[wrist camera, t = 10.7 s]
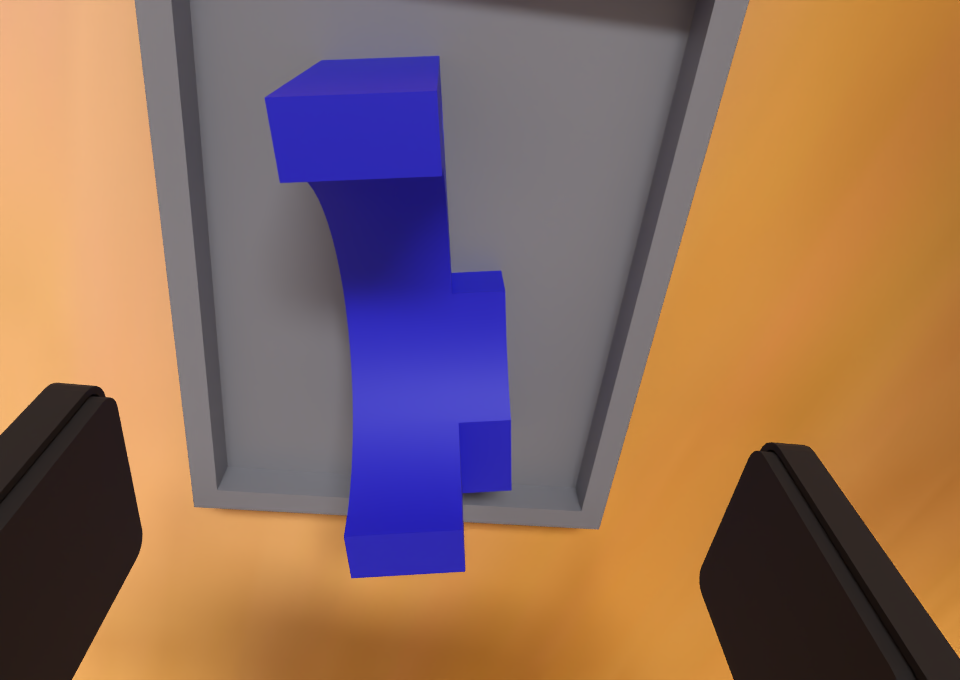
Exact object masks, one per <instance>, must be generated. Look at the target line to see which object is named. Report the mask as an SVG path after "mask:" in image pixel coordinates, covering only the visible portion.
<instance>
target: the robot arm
mask: <svg viewBox="0 0 960 680" xmlns="http://www.w3.org/2000/svg"><path fill="white" fill-rule="evenodd" d="M141 544H142V527H141V522H140V517H139V512H138V507H137V502H136V497H135V492H134V487H133V482H132V477H131V472H130V467H129V462H128V457H127V452H126V447H125V442H124V437H123V432H122V427H121V422H120V417H119V412H118V407H117V404H116V401H115V400H114V399H113V398H108V397H105V394H104V392H103V390H102V389H101V388H100V387H97V386H89V385H77V384H65V383H53V384H50V385H49V386H48V387H46V388H45V389H44V390H43V391H42V392H41V393H40V394H39V395H38V396H37V397H36V398H35V400H34V401H33V402H32V403H31V404H30V405H29V406H28V407H27V408H26V409H25V410H24V411H23V412H22V413H21V414H20V415H19V416H18V417H17V418H16V419H15V421H14V422H13V423H12V424H11V425H10V426H9V427H8V428H7V429H6V430H5V431H4V432H3V433H2V434H1V435H0V680H72V678H73V676H74V675H75V673H76V671H77V669H78V667H79V665H80V663H81V662H82V660H83V658H84V656H85V654H86V652H87V650H88V648H89V647H90V645H91V643H92V641H93V639H94V637H95V635H96V634H97V632H98V630H99V628H100V626H101V624H102V622H103V620H104V619H105V617H106V615H107V613H108V611H109V609H110V607H111V605H112V604H113V602H114V600H115V598H116V596H117V594H118V592H119V591H120V589H121V587H122V585H123V583H124V581H125V579H126V577H127V576H128V574H129V572H130V570H131V568H132V566H133V564H134V563H135V561H136V559H137V557H138V554H139V551H140V548H141ZM699 579H700V589H701V593H702V596H703V598H704V601H705V604H706V606H707V609H708V612H709V614H710V617H711V620H712V623H713V625H714V628H715V631H716V633H717V636H718V639H719V641H720V644H721V647H722V649H723V652H724V655H725V657H726V660H727V663H728V665H729V668H730V671H731V673H732V676H733V679H734V680H960V658H959V657H958V656H957V654H956V653H955V651H954V650H953V649H952V647H951V646H950V644H949V643H948V641H947V640H946V639H945V637H944V636H943V634H942V633H941V631H940V630H939V629H938V627H937V626H936V624H935V623H934V622H933V620H932V619H931V617H930V616H929V614H928V613H927V612H926V610H925V609H924V607H923V606H922V604H921V603H920V602H919V600H918V599H917V597H916V596H915V595H914V593H913V592H912V590H911V589H910V587H909V586H908V585H907V583H906V582H905V580H904V579H903V577H902V576H901V575H900V573H899V572H898V570H897V569H896V568H895V566H894V565H893V563H892V562H891V560H890V559H889V558H888V556H887V555H886V553H885V552H884V550H883V549H882V548H881V546H880V545H879V543H878V542H877V541H876V539H875V538H874V536H873V535H872V533H871V532H870V531H869V529H868V528H867V526H866V525H865V523H864V522H863V521H862V519H861V518H860V516H859V515H858V514H857V512H856V511H855V509H854V508H853V506H852V505H851V504H850V502H849V501H848V499H847V498H846V496H845V495H844V494H843V492H842V491H841V489H840V488H839V487H838V485H837V484H836V482H835V481H834V479H833V478H832V477H831V475H830V474H829V472H828V471H827V469H826V468H825V467H824V465H823V464H822V462H821V461H820V460H819V458H818V457H817V455H816V454H815V452H814V451H813V450H812V449H811V448H810V447H808V446H805V445H796V444H784V443H772V442H771V443H766V444H765V445H764V446H763V447H762V448H761V450H760V451H754V452H753V453H752V454H751V455H750V457H749V459H748V461H747V464H746V466H745V468H744V470H743V473H742V475H741V477H740V480H739V482H738V484H737V486H736V489H735V491H734V493H733V496H732V498H731V500H730V503H729V505H728V507H727V509H726V512H725V514H724V516H723V519H722V521H721V523H720V525H719V528H718V530H717V532H716V535H715V537H714V539H713V542H712V544H711V546H710V548H709V551H708V553H707V555H706V558H705V560H704V562H703V565H702V567H701V570H700V577H699Z"/></svg>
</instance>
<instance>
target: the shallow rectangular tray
mask: <svg viewBox="0 0 960 680" xmlns="http://www.w3.org/2000/svg"><path fill="white" fill-rule="evenodd" d="M748 3H749V0H135V7H136V15H137V24H138V32H139V41H140V49H141V58H142V66H143V75H144V83H145V92H146V100H147V109H148V117H149V126H150V135H151V143H152V152H153V160H154V169H155V177H156V186H157V194H158V203H159V211H160V220H161V228H162V237H163V245H164V254H165V262H166V271H167V279H168V288H169V296H170V305H171V313H172V322H173V330H174V339H175V347H176V356H177V364H178V373H179V382H180V390H181V399H182V407H183V416H184V424H185V433H186V441H187V450H188V458H189V467H190V475H191V484H192V492H193V501H194V507H203V508H221V509H239V510H257V511H275V512H293V513H312V514H330V515H347V513H348V505H349V495H350V484H351V469H352V446H353V395H352V371H351V355H350V343H349V332H348V323H347V314H346V306H345V300H344V293H343V286H342V281H341V275H340V270H339V265H338V260H337V255H336V251H335V247H334V243H333V239H332V235H331V232H330V229H329V225H328V222H327V219H326V217H325V214H324V211H323V209H322V206H321V204H320V202H319V200H318V198H317V196H316V194H315V192H314V190H313V189H312V188H311V186H310V185H309V184H308V183H307V182H295V183H280V181H279V175H278V170H277V164H276V159H275V153H274V148H273V142H272V137H271V131H270V126H269V120H268V115H267V109H266V104H265V97H266V96H268V95H269V94H271V93H272V92H274V91H275V90H277V89H278V88H280V87H281V86H283V85H284V84H286V83H287V82H289V81H290V80H292V79H293V78H295V77H296V76H298V75H300V74H301V73H303V72H304V71H306V70H307V69H309V68H310V67H312V66H313V65H315V64H316V63H318V62H319V61H321V60H340V59H366V58H393V57H420V56H439V58H440V76H441V94H442V112H443V130H444V148H445V166H446V184H447V202H448V220H449V238H450V256H451V273H458V272H479V271H502V277H503V282H504V287H505V300H506V337H507V361H508V381H509V398H510V413H511V482H512V491H494V492H476V493H463V521H464V522H474V523H493V524H511V525H529V526H547V527H565V528H583V529H599V527H600V524H601V520H602V517H603V513H604V510H605V506H606V503H607V499H608V495H609V492H610V488H611V485H612V481H613V478H614V474H615V471H616V467H617V464H618V460H619V457H620V453H621V450H622V446H623V443H624V439H625V436H626V432H627V429H628V425H629V422H630V418H631V415H632V411H633V407H634V404H635V400H636V397H637V393H638V390H639V386H640V383H641V379H642V376H643V372H644V369H645V365H646V362H647V358H648V355H649V351H650V348H651V344H652V341H653V337H654V334H655V330H656V327H657V323H658V319H659V316H660V312H661V309H662V305H663V302H664V298H665V295H666V291H667V288H668V284H669V281H670V277H671V274H672V270H673V267H674V263H675V260H676V256H677V253H678V249H679V246H680V242H681V238H682V235H683V231H684V228H685V224H686V221H687V217H688V214H689V210H690V207H691V203H692V200H693V196H694V193H695V189H696V186H697V182H698V179H699V175H700V172H701V168H702V165H703V161H704V158H705V154H706V150H707V147H708V143H709V140H710V136H711V133H712V129H713V126H714V122H715V119H716V115H717V112H718V108H719V105H720V101H721V98H722V94H723V91H724V87H725V84H726V80H727V77H728V73H729V70H730V66H731V62H732V59H733V55H734V52H735V48H736V45H737V41H738V38H739V34H740V31H741V27H742V24H743V20H744V17H745V13H746V10H747V6H748Z"/></svg>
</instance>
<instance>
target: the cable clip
mask: <svg viewBox="0 0 960 680" xmlns="http://www.w3.org/2000/svg"><path fill="white" fill-rule="evenodd" d="M265 104H266V109H267V115H268V120H269V126H270V131H271V137H272V142H273V148H274V153H275V159H276V164H277V170H278V175H279V181H280V183H295V182H307V183H308V184H309V185H310V186H311V188H312V189H313V190H314V192H315V194H316V196H317V198H318V200H319V202H320V204H321V206H322V209H323V211H324V214H325V217H326V219H327V222H328V225H329V229H330V232H331V235H332V239H333V243H334V247H335V251H336V255H337V260H338V265H339V270H340V275H341V281H342V286H343V293H344V300H345V306H346V314H347V323H348V332H349V343H350V355H351V371H352V395H353V446H352V469H351V484H350V495H349V505H348V513H347V521H346V527H345V533H344V540H345V545H346V551H347V557H348V562H349V568H350V573H351V578H364V577H381V576H398V575H414V574H431V573H448V572H465V550H464V521H463V493H476V492H494V491H512V482H511V413H510V398H509V381H508V361H507V337H506V300H505V287H504V282H503V277H502V271H479V272H458V273H451V256H450V238H449V220H448V202H447V184H446V166H445V148H444V130H443V112H442V94H441V76H440V58H439V56H420V57H393V58H366V59H340V60H321V61H319V62H318V63H316V64H315V65H313V66H312V67H310V68H309V69H307V70H306V71H304V72H303V73H301V74H300V75H298V76H296V77H295V78H293V79H292V80H290V81H289V82H287V83H286V84H284V85H283V86H281V87H280V88H278V89H277V90H275V91H274V92H272V93H271V94H269V95H268V96H266V97H265Z"/></svg>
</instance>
